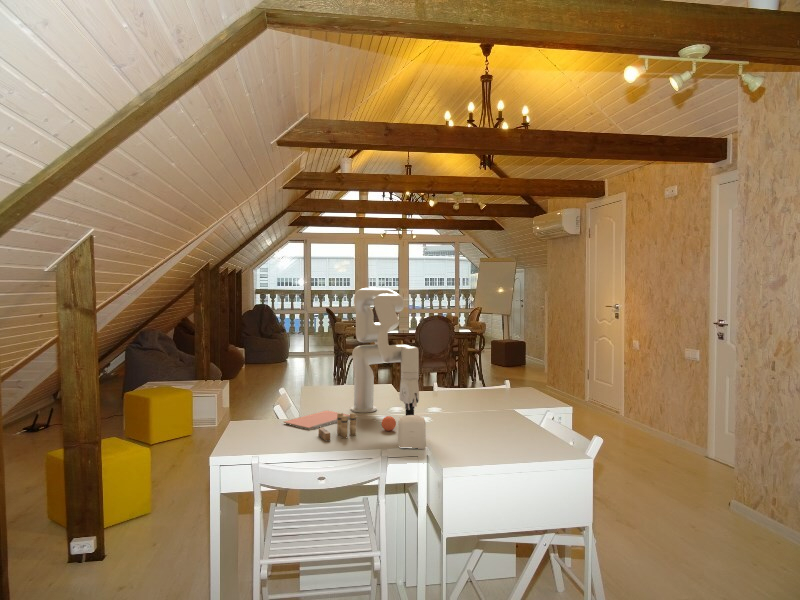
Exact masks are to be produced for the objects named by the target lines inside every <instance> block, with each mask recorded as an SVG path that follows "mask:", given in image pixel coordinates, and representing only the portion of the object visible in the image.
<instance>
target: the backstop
mask: <svg viewBox="0 0 800 600" xmlns="http://www.w3.org/2000/svg"><path fill="white" fill-rule="evenodd" d="M318 436H319V437H320V436H321V437H322V438H323V439H324V440H330V441H331V432H330V431H328V430H327V428H325V427H320V428H318ZM321 437H320V438H321ZM322 438H321V439H322ZM323 439H322V440H323ZM324 440H323V441H324Z"/></svg>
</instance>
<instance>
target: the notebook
mask: <svg viewBox="0 0 800 600" xmlns="http://www.w3.org/2000/svg"><path fill="white" fill-rule="evenodd" d="M338 413H339V412H337V411H332V410H327V409H326V410H323V411H318V412H314V413H311V414H307V415H304V416H300V417H296V418H293V419H287V420H285V421H283V424H284V423H286V424H291V425H294V426H297V427H296V428H299V427H302V428H301V429H303V428H306V429H305V430H307V429H311V430H313V429H312V428H315V429H317V428H318V429H319V427H320V426H322V427H324V426H325V427H326V425H327V424H329V425H334V424H333V423H335V424H336V423H337V414H338ZM343 416H348V419H349V420H350V414H347V413H343ZM330 423H331V424H330ZM286 424H285V425H286ZM294 426H293V427H294ZM327 426H328V425H327ZM316 427H317V428H316ZM320 428H321V427H320Z"/></svg>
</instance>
